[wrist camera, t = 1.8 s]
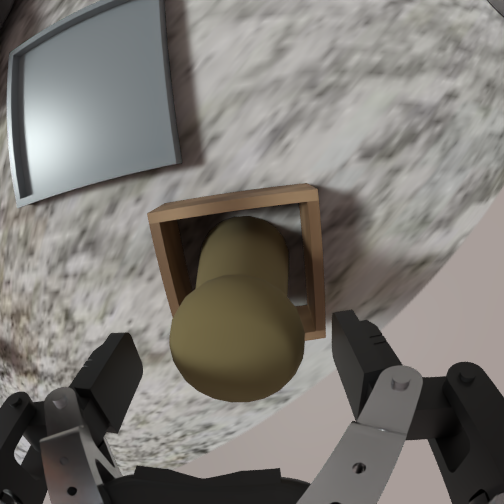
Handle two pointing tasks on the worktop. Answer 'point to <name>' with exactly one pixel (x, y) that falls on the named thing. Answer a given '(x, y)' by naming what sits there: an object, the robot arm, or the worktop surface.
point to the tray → (91, 100)
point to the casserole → (5, 10)
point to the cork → (239, 315)
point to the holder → (168, 213)
